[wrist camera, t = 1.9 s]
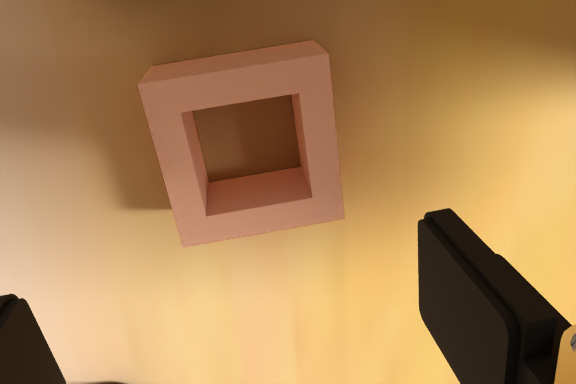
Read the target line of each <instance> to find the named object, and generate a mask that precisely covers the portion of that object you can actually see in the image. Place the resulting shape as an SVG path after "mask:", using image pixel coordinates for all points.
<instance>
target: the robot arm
mask: <svg viewBox="0 0 576 384" xmlns="http://www.w3.org/2000/svg"><path fill="white" fill-rule="evenodd" d="M418 273H419V310H420V314H421V317H422V320H423V321H424V323H425V325H426V327H427V328H428V330H429V332H430V333H431V335H432V337H433V338H434V340H435V342H436V343H437V345H438V347H439V348H440V350H441V352H442V353H443V355H444V357H445V358H446V360H447V362H448V363H449V365H450V367H451V368H452V370H453V372H454V373H455V375H456V377H457V378H458V380H459V382H460V383H461V384H576V325H573V326H572V325H571V324H570V323H569V322H568V321H567V320H566V319H565V318H564V317H563V316H562V315H561V314H560V313H559V312H558V311H557V310H556V309H555V308H554V307H553V306H552V305H551V304H550V303H549V302H548V301H547V300H546V299H545V298H544V297H543V296H542V295H541V294H540V293H539V292H538V291H537V290H536V289H535V288H534V287H533V286H532V285H531V284H530V283H529V282H528V281H527V280H526V279H525V278H524V277H523V276H522V275H521V274H520V273H519V272H518V271H517V270H516V269H515V268H514V267H513V266H512V265H511V264H510V263H509V262H508V261H507V260H506V259H505V258H503V257H502V256H501V255H499V254H495V253H494V252H493V251H492V250H491V249H490V248H489V247H488V246H487V245H486V244H485V243H484V242H483V241H482V240H481V239H480V238H479V237H478V236H477V235H476V234H475V233H474V232H473V231H472V230H471V229H470V228H469V227H468V226H467V225H466V224H465V223H464V222H463V221H462V220H461V219H460V218H459V217H458V216H457V215H456V213H455V212H454V211H453V210H451V209H450V208H447V209H442V210H437V211H432V212H427V213H426V214H425V216H424V219H422V220H419V221H418ZM0 384H66V381H65V379H64V377H63V375H62V373H61V371H60V369H59V366H58V364H57V362H56V360H55V358H54V356H53V354H52V352H51V350H50V348H49V346H48V344H47V342H46V340H45V338H44V336H43V334H42V332H41V329H40V327H39V325H38V323H37V321H36V319H35V317H34V315H33V313H32V311H31V309H30V307H29V305H28V303H27V301H26V300H25V299H23V298H20V299H19V298H18V297H17V296H16V295H15V294H8V295H3V296H0Z"/></svg>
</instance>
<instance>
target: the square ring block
mask: <svg viewBox="0 0 576 384" xmlns="http://www.w3.org/2000/svg"><path fill="white" fill-rule="evenodd" d="M137 86H138V90H139V93H140V97H141V100H142V104H143V107H144V111H145V115H146V118H147V122H148V125H149V129H150V132H151V136H152V139H153V143H154V147H155V150H156V154H157V157H158V161H159V164H160V168H161V171H162V175H163V179H164V182H165V186H166V189H167V193H168V196H169V200H170V203H171V207H172V210H173V214H174V218H175V221H176V225H177V228H178V232H179V235H180V239H181V242H182V246H183V247H188V246H194V245H199V244H205V243H211V242H216V241H222V240H227V239H233V238H239V237H244V236H250V235H256V234H261V233H267V232H272V231H278V230H284V229H289V228H295V227H300V226H306V225H312V224H317V223H323V222H328V221H334V220H340V219H345V218H344V208H343V197H342V186H341V176H340V165H339V155H338V144H337V134H336V123H335V113H334V102H333V92H332V81H331V71H330V60H329V53H328V52H327V51H326V50H324V49H323V48H322V47H321V46H320V45H319V44H318V43H317V42H315V41H314V40H310V41H304V42H297V43H291V44H285V45H279V46H273V47H266V48H260V49H254V50H248V51H241V52H235V53H229V54H223V55H217V56H210V57H204V58H198V59H192V60H186V61H179V62H173V63H167V64H161V65H155V66H151V67H150V68H149V69H148V71H147V72H146V73H145V75H144V76H143V77H142V79H141V80H140V81H139V83H138V84H137ZM290 94H291V96H292V103H293V111H294V118H295V126H296V133H297V140H298V148H299V155H300V163H301V167H295V168H289V169H284V170H278V171H272V172H266V173H261V174H255V175H249V176H243V177H237V178H232V179H226V180H220V181H214V182H209V180H208V176H207V172H206V167H205V163H204V159H203V155H202V150H201V146H200V142H199V138H198V133H197V129H196V125H195V121H194V116H193V112H192V111H194V110H200V109H206V108H212V107H218V106H224V105H230V104H236V103H242V102H248V101H254V100H260V99H266V98H272V97H278V96H284V95H290Z"/></svg>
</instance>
